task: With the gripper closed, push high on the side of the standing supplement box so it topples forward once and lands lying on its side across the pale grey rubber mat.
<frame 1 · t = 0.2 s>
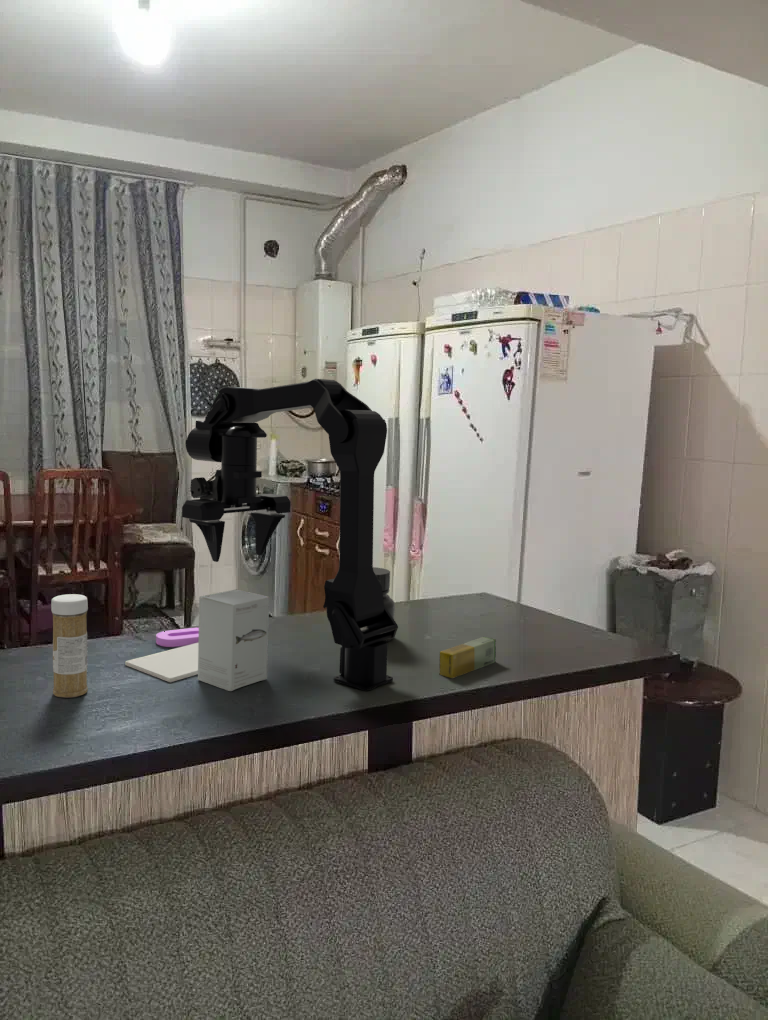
hand: (237, 558, 135), 14 cm above the counter, tool pointing down, fingers open, 9 cm apart
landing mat: (185, 662, 125), on the counter
medication box: (467, 670, 128), on the counter
ink bottle: (368, 638, 143), on the counter
sprinkles bottle: (70, 694, 111), on the counter
supplement box: (232, 681, 119), on the counter
bracket: (195, 641, 138), on the counter
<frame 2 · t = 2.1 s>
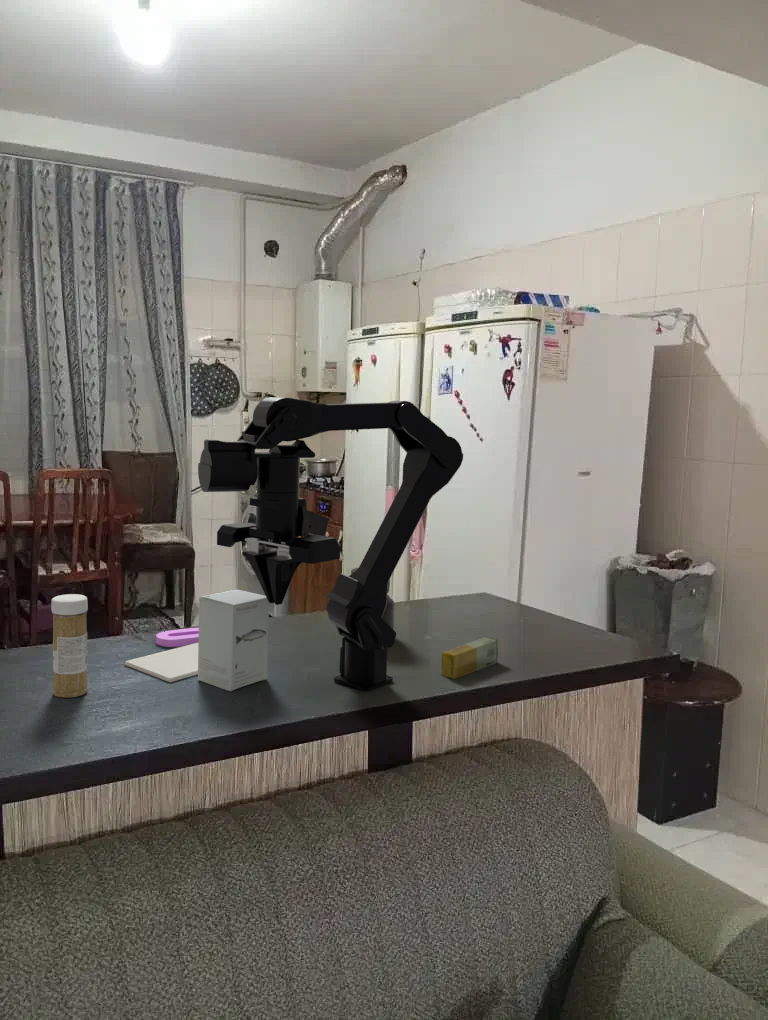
hand: (275, 603, 112), 13 cm above the counter, tool pointing down, fingers closed
nothing on the counter moved.
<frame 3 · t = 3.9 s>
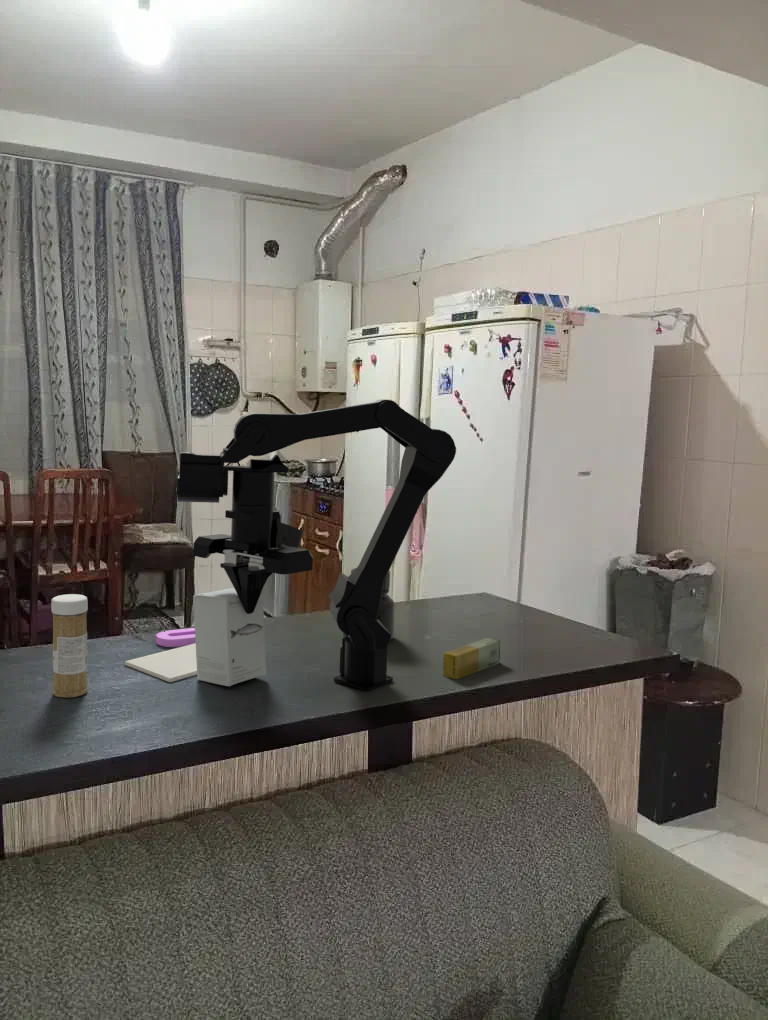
hand: (249, 613, 115), 11 cm above the counter, tool pointing down, fingers closed
supplement box: (232, 679, 119), on the counter, touching gripper
everything else where it was.
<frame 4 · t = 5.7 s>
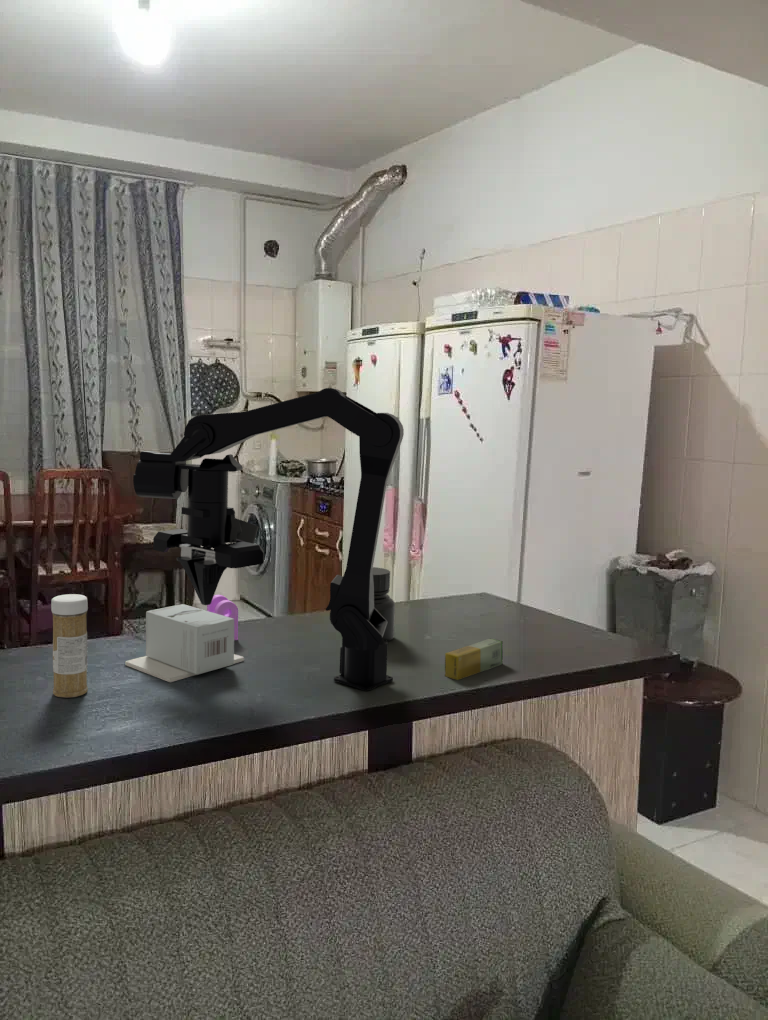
hand: (206, 604, 121), 10 cm above the counter, tool pointing down, fingers closed
supplement box: (217, 646, 120), point 4 cm above the counter, touching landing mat
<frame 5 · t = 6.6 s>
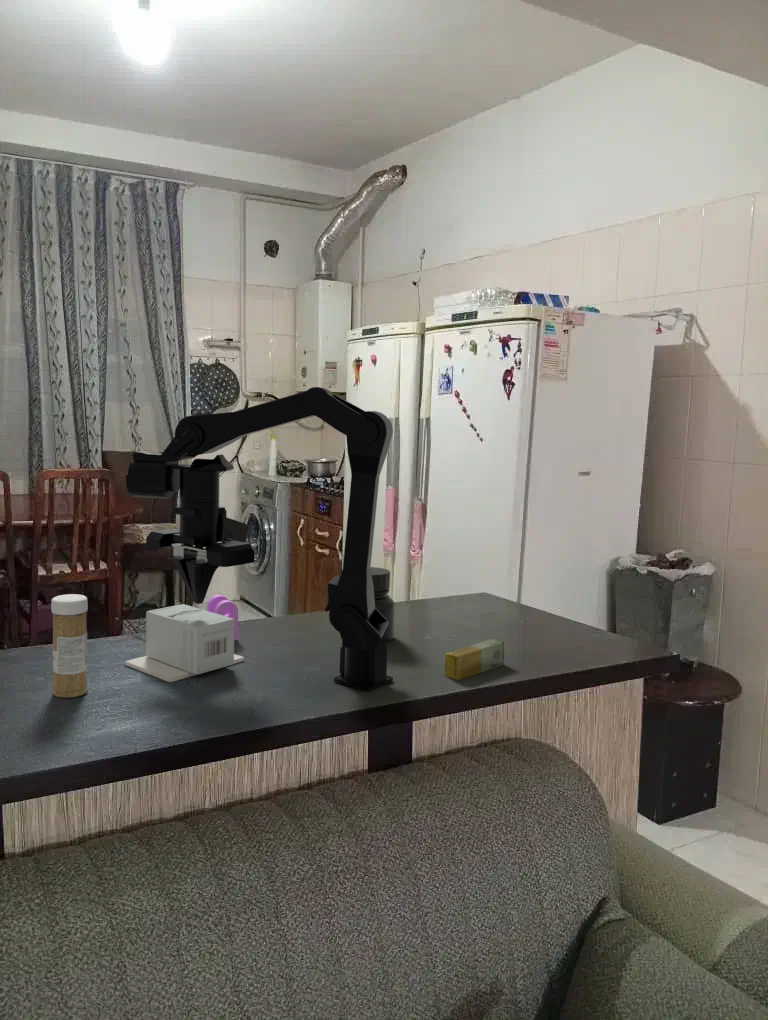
hand: (198, 603, 122), 10 cm above the counter, tool pointing down, fingers closed
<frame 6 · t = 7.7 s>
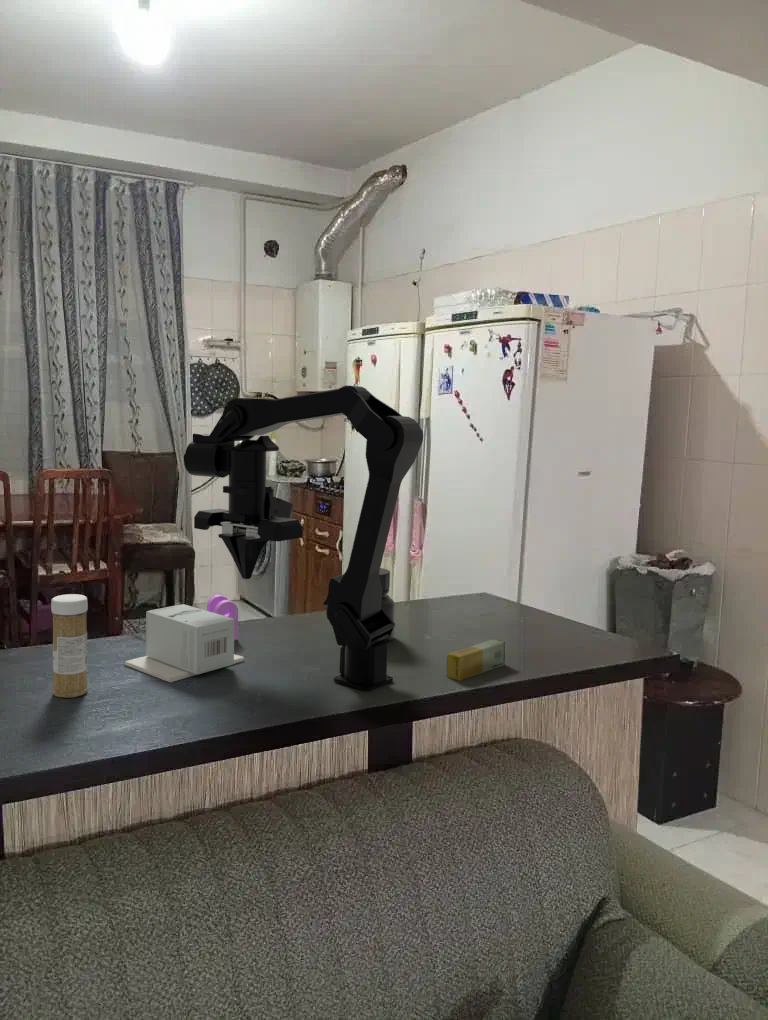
hand: (246, 578, 128), 13 cm above the counter, tool pointing down, fingers closed
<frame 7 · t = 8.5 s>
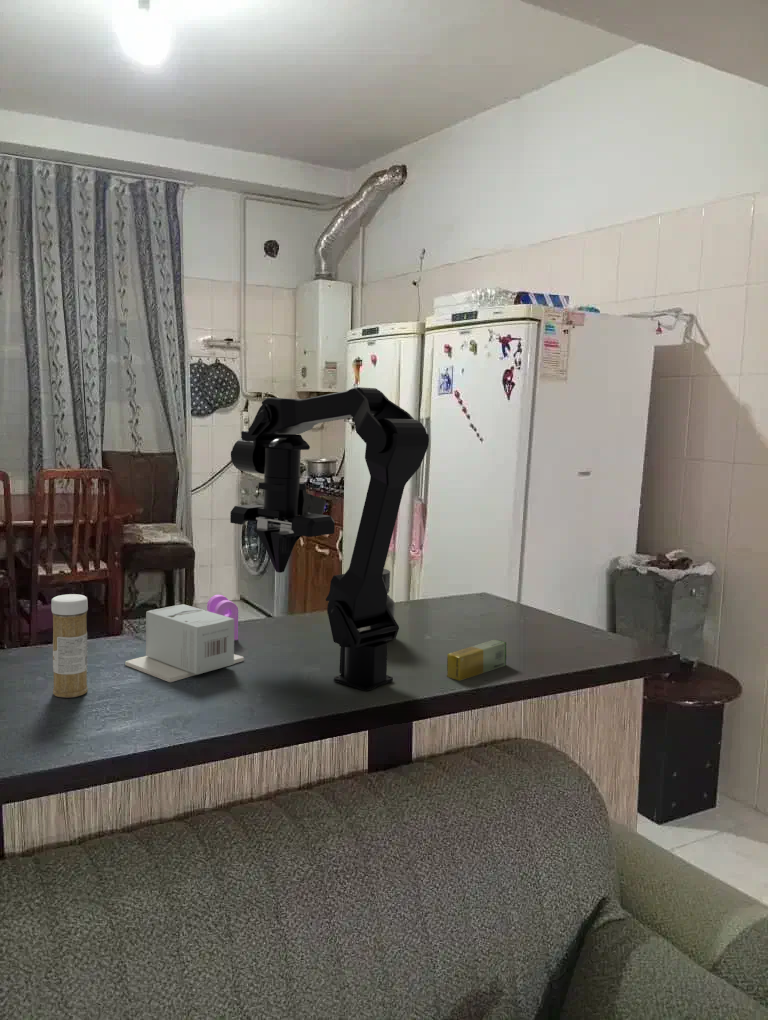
hand: (280, 572, 132), 13 cm above the counter, tool pointing down, fingers closed
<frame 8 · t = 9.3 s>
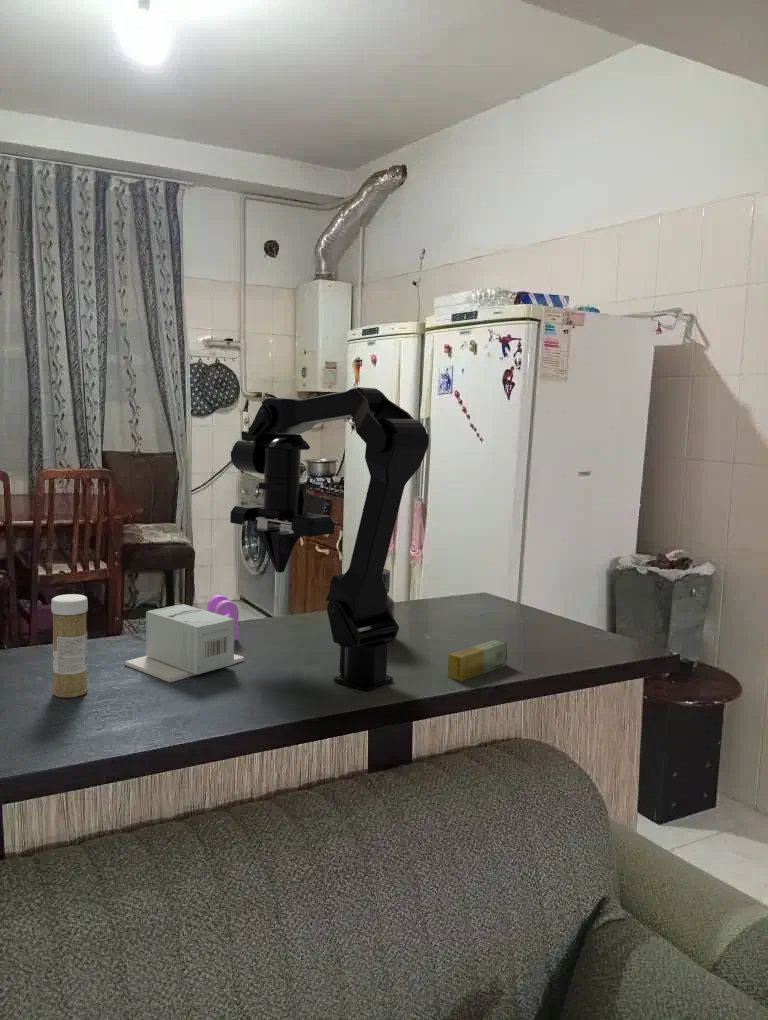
hand: (280, 572, 132), 13 cm above the counter, tool pointing down, fingers closed
at the end: supplement box tilted 90°; supplement box inside the target area (5.6 cm from its centre), point 4.3 cm above the counter; supplement box touching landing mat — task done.
